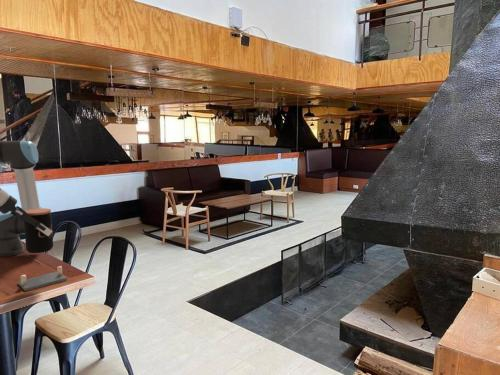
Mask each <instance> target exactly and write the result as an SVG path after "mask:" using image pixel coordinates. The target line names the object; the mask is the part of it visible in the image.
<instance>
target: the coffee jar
mask: <svg viewBox="0 0 500 375" xmlns="http://www.w3.org/2000/svg"><path fill="white" fill-rule="evenodd" d="M25 212H27V214H28V215H30V216H31V217H33V218H34V219H36V220H37V221H39V222H40V223H42V224H43V225H44V226H46V227H47V228H49V229H50V230H52V231H53V221H52V220H53V219H52V214H51V212H52V210H51V209H50V208H43V207H41V209H31V210H26V211H25ZM36 224H37V223H36ZM36 224H35V225H36ZM24 228H25V234H24V237H25V251H27V253H30V254H42V253H46V252H49V251H51V250H52V249H53V247H54V236H53V235H54V234H53V232H52V233H51V234H50V235H49V236H47V235H46V234H44V233H43V232H41V231H40V230H38V229H37V228H36V229H34V228H35V226H33V225H32V224H30V223H28V222H27V221H25V220H24Z"/></svg>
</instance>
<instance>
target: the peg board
mask: <svg viewBox="0 0 500 375" xmlns="http://www.w3.org/2000/svg"><path fill="white" fill-rule="evenodd" d="M56 270H57V271H54V272H50V273H46V274H45V273H44V274H42V275H38V276H34V277H30V278H27V274H22V275H20V280H18V281H17V285H18V286H20V287H21V289H22V290H24V292H27V291H31V290H35V289H38V288H42V287H45V286H49V285H54V284H57V283H62V282H65V281H68V278H67V276H65V275H64V274H63V266H62V265H59V266H57V267H56Z"/></svg>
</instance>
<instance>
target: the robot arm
mask: <svg viewBox="0 0 500 375" xmlns="http://www.w3.org/2000/svg"><path fill="white" fill-rule="evenodd" d="M38 151H39V150H38V148H37V146H36V144H35V143H34V142H32V141H29V140H0V176H1V174H2V171H3V166H2V164H9V168H10V169H12V170H13V171H14V175H15V180H16V184H17V185H16V187H17V191H18V197H19V200H20V206H18V205H17V203H18V200H17V199H16V198H15V197H14V196H12V195H9V193H8V192H7V191H5V190H4V189H2V188H1V187H0V258H2V257H3V258H5V257H6V258H7V257H12V256H16V255H19V254H22V253H24V251H25V246H24V244H23V242H22V240H21V238H20V235H25V228H24V220H25V221H27V222H28V223H30V224H32V225H33V226H35V228H34V229H36V228H37V229H38V230H40V231H41V232H43V233H44V234H46V235H47V236H49V235H50V234H51V233H53V229H52V230H50V229H49V228H47V227H46V226H44V225H43V224H42V223H40V222H39V221H37V220H36V219H34V218H33V217H31V216H30V215H28V214H27V212H25V211H26V210H31V209H41V208H42V206H40V202H39V201H40V200H39V195H38V190H37V189H38V188H37V183H36V178H35V171H34V168H35V167H36V165H37V163H39V159H40V158H39V152H38ZM36 223H37V224H36ZM35 224H36V225H35Z"/></svg>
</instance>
